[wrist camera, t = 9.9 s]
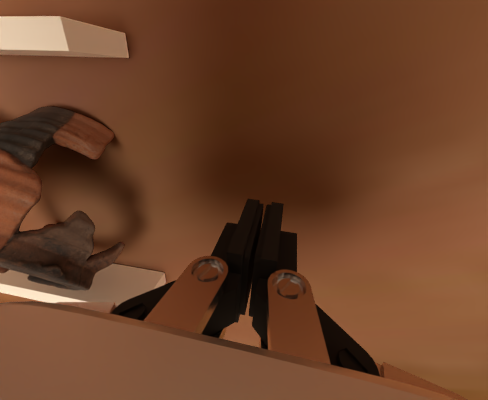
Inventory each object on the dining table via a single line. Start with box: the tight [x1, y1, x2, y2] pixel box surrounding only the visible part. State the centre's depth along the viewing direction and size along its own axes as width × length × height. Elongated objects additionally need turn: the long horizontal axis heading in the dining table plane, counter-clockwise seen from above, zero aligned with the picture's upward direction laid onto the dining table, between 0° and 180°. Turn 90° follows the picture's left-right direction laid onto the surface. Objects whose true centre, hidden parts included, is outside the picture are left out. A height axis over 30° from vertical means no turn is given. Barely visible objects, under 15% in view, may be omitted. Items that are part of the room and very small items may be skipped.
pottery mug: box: [0, 107, 125, 291], centre depth 14 cm, size 12×10×8 cm
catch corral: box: [0, 16, 166, 305], centre depth 14 cm, size 16×14×4 cm
